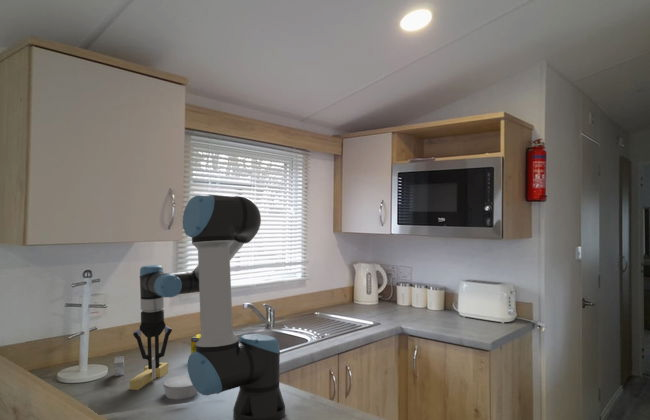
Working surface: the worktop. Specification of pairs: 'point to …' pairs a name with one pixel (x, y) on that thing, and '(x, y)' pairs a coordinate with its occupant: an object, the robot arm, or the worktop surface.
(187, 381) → the ramekin
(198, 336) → the supplement box
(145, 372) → the link
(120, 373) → the keeper
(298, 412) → the worktop surface
